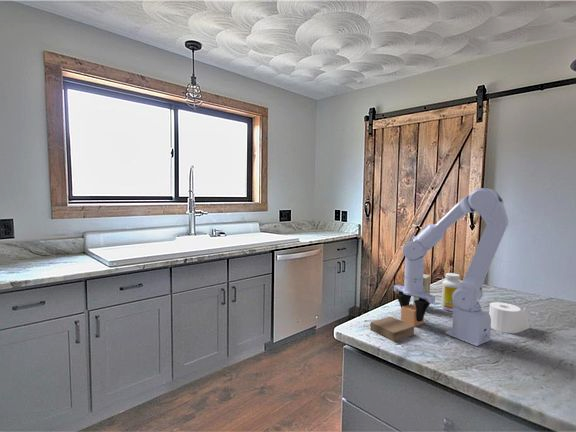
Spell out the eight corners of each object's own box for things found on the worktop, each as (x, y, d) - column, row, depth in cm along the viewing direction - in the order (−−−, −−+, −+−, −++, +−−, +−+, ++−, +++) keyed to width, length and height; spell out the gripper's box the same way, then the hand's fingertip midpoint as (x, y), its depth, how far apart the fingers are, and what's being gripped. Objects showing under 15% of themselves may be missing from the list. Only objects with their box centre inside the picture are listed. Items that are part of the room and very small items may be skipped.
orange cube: (423, 323, 106) (424, 308, 106) (413, 326, 104) (414, 311, 103) (410, 318, 111) (411, 303, 110) (400, 321, 108) (401, 306, 108)
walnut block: (413, 336, 98) (414, 326, 98) (393, 342, 93) (393, 332, 93) (390, 325, 106) (390, 316, 105) (370, 331, 101) (370, 321, 101)
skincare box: (425, 311, 116) (426, 278, 116) (412, 309, 119) (413, 276, 118) (429, 306, 122) (431, 274, 121) (417, 304, 124) (418, 272, 123)
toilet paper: (529, 328, 103) (531, 306, 103) (510, 335, 98) (512, 313, 97) (502, 319, 110) (503, 299, 110) (483, 325, 105) (484, 304, 104)
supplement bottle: (464, 312, 116) (466, 276, 115) (446, 311, 117) (447, 276, 116) (455, 305, 123) (457, 272, 122) (438, 305, 123) (439, 272, 122)
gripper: (388, 274, 110) (386, 313, 111) (425, 284, 98) (423, 328, 99) (402, 271, 114) (400, 309, 115) (439, 281, 101) (438, 323, 102)
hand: (412, 317), depth 107 cm, fingers closed on orange cube, 5 cm apart
